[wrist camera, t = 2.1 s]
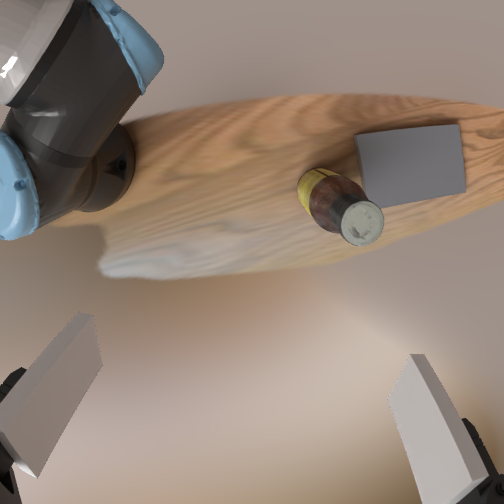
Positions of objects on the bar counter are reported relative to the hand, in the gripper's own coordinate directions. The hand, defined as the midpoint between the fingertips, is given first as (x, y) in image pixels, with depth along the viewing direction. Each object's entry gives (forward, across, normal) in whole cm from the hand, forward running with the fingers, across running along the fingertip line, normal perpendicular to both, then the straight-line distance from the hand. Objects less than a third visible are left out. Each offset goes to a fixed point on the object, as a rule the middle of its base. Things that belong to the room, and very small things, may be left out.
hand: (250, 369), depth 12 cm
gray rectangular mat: (+35, +22, +9) cm, 42 cm away
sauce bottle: (+35, +8, +3) cm, 36 cm away
